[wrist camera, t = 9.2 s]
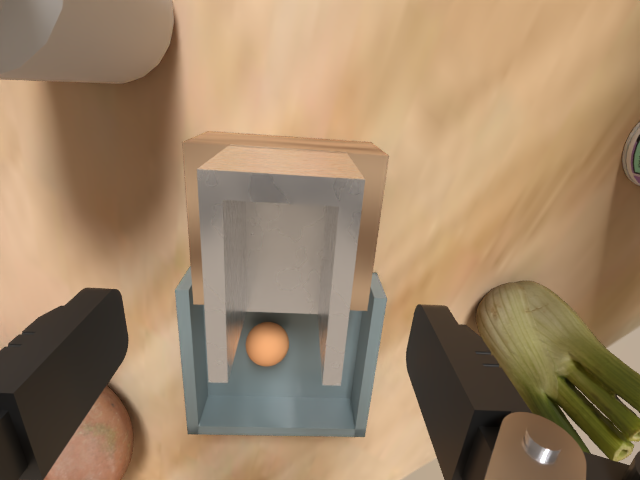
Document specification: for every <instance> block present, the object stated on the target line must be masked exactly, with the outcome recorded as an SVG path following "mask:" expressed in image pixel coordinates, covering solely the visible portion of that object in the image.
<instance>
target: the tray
mask: <svg viewBox="0 0 640 480" xmlns="http://www.w3.org/2000/svg"><path fill="white" fill-rule="evenodd" d="M175 295H176V307H177V318H178V329H179V341H180V352H181V363H182V374H183V386H184V397H185V408H186V420H187V431H188V434H209V435H273V436H337V437H365V432H366V426H367V420H368V413H369V407H370V401H371V395H372V389H373V382H374V376H375V370H376V364H377V358H378V351H379V345H380V339H381V333H382V327H383V320H384V314H385V308H386V302H387V297H386V295H385V292H384V290H383V287H382V285H381V282H380V280H379V277H378V275H377V273H372V280H371V287H370V294H369V302H368V309H367V311H356V310H350V312H349V321H348V329H347V337H346V346H345V354H344V362H343V371H342V379H341V386H332V385H322V374H321V358H320V342H319V326H318V314H301V313H274V312H247V311H246V315H245V319H244V322H243V326H242V330H241V334H240V338H239V342H238V346H237V349H236V353H235V357H234V361H233V365H232V369H231V372H230V376H229V380H228V383H211V382H208V364H207V346H206V327H205V309H204V305H198V304H193V291H192V277H191V266H190V267H189V269H188V271H187V272H186V274H185V275H184V277H183V278H182V280H181V281H180V283H179V285H178V286H177V288H176V289H175ZM263 322H273V323H276V324H278V325H280V326H281V327H282V328H283V329H284V330H285V331H286V333H287V335H288V339H289V348H288V351H287V354H286V356H285V357H284V358H283V359H282V361H280V362H279V363H277V364H276V365H273V366H266V367H265V366H260V365H257V364H256V363H254V362H253V361H252V360H251V359H250V358H249V356H248V354H247V351H246V339H247V336H248V334H249V332H250V331H251V330H252V329H253V328H254V327H255V326H256V325H258V324H260V323H263Z"/></svg>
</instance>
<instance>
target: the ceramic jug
mask: <svg viewBox="0 0 640 480" xmlns="http://www.w3.org/2000/svg"><path fill="white" fill-rule="evenodd" d="M132 450H133V428H132V424H131V420H130V417H129V415H128V412H127V410H126V408H125V407H124V405H123V403H122V402H121V400H120V399H119V398H118V396H117V395H116V394H115V393H114V392H113V391H112V390H111V389H110V388H109V387H108V386H107V385H106V387H105V388H104V390H103V391H102V393H101V394H100V396H99V397H98V399H97V400H96V402H95V403H94V405H93V406H92V408H91V409H90V411H89V412H88V414H87V415H86V417H85V418H84V420H83V421H82V423H81V424H80V426H79V427H78V429H77V430H76V432H75V433H74V435H73V436H72V438H71V439H70V441H69V442H68V444H67V445H66V447H65V448H64V450H63V451H62V453H61V454H60V456H59V457H58V459H57V460H56V462H55V463H54V465H53V466H52V468H51V469H50V471H49V472H48V474H47V475H46V477H45V478H44V480H121V478H122V477H123V475H124V474H125V472H126V470H127V468H128V465H129V463H130V460H131V456H132Z"/></svg>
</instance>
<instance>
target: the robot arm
mask: <svg viewBox="0 0 640 480" xmlns="http://www.w3.org/2000/svg"><path fill="white" fill-rule="evenodd" d="M127 348H128V332H127V326H126V320H125V314H124V308H123V301H122V296H121V293H120V292H119V291H118V290H117V289H103V288H84V289H83V290H81V291H80V292H79V293H78V294H77V295H76V296H75V297H74V298H73V299H71V300H70V301H69V302H68V303H67V304H66V305H65V306H59V307H58V308H56V309H54V310H52V311H50V312H48V313H46V314H44V315H42V316H40V317H38V318H37V319H36V320H35V321H34V322H33V323H32V324H30V325H29V326H28V327H27V328H26V329H25V330H24V331H22V335H18V336H17V337H16V338H14V339H13V340H12V341H11V342H10V343H9V344H8V347H4V348H3V349H2V350H1V351H0V480H44V478H45V477H46V475H47V474H48V472H49V471H50V469H51V468H52V466H53V465H54V463H55V462H56V460H57V459H58V457H59V456H60V454H61V453H62V451H63V450H64V448H65V447H66V445H67V444H68V442H69V441H70V439H71V438H72V436H73V435H74V433H75V432H76V430H77V429H78V427H79V426H80V424H81V423H82V421H83V420H84V418H85V417H86V415H87V414H88V412H89V411H90V409H91V408H92V406H93V405H94V403H95V402H96V400H97V399H98V397H99V396H100V394H101V393H102V391H103V390H104V388H105V387H106V385H107V384H108V382H109V381H110V379H111V378H112V376H113V375H114V373H115V372H116V370H117V369H118V367H119V366H120V364H121V363H122V361H123V360H124V358H125V355H126V352H127ZM406 364H407V370H408V374H409V377H410V380H411V383H412V386H413V389H414V392H415V394H416V397H417V400H418V403H419V406H420V409H421V412H422V415H423V418H424V421H425V424H426V427H427V430H428V433H429V436H430V438H431V441H432V444H433V447H434V450H435V453H436V456H437V459H438V462H439V464H440V468H441V470H442V473H443V477H444V479H445V480H640V452H638V453H637V455H636V456H635V458H634V459H633V461H632V463H631V464H630V465H627V464H623V463H620V462H617V461H613V460H610V459H606V458H603V457H600V456H597V455H593V454H590V453H587V452H584V451H582V449H581V448H580V446H579V445H578V443H577V442H576V441H575V440H574V439H573V438H572V436H570V435H569V434H568V433H567V432H566V431H565V430H564V429H562V428H561V427H560V426H558V425H557V424H555V423H554V422H552V421H550V420H548V419H546V418H544V417H542V416H539V415H536V414H533V413H532V412H531V410H530V409H529V407H528V406H527V404H526V403H525V401H524V400H523V398H522V397H521V396H520V394H519V393H518V391H517V390H516V388H515V387H514V385H513V384H512V382H511V381H510V379H509V378H508V376H507V375H506V373H505V372H504V370H503V369H502V367H499V363H498V361H497V360H496V358H495V357H494V356H493V355H491V351H490V350H489V348H488V347H487V345H486V344H485V342H484V341H483V339H482V338H481V337H480V336H479V335H478V334H476V333H475V332H474V331H473V330H471V329H470V328H469V327H468V326H466V325H458V323H457V321H456V320H455V318H454V317H453V315H452V313H451V312H450V310H449V309H448V307H447V306H442V305H421V304H419V305H417V307H416V309H415V312H414V317H413V322H412V326H411V331H410V336H409V341H408V346H407V351H406Z"/></svg>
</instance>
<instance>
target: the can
mask: <svg viewBox="0 0 640 480" xmlns="http://www.w3.org/2000/svg"><path fill="white" fill-rule="evenodd" d="M173 25H174V14H173V4H172V0H0V79H3V80H31V81H59V82H87V83H116V84H124V83H127V82H130V81H133V80H136V79H139V78H142V77H144V76H145V75H146V74H148V73H149V72H150V71H151V70H152V69H154V68H155V67H156V66H157V65H158V64H159V63H160V61H161V60H162V58H163V56H164V54H165V52H166V51H167V49H168V47H169V45H170V41H171V36H172V30H173Z"/></svg>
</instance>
